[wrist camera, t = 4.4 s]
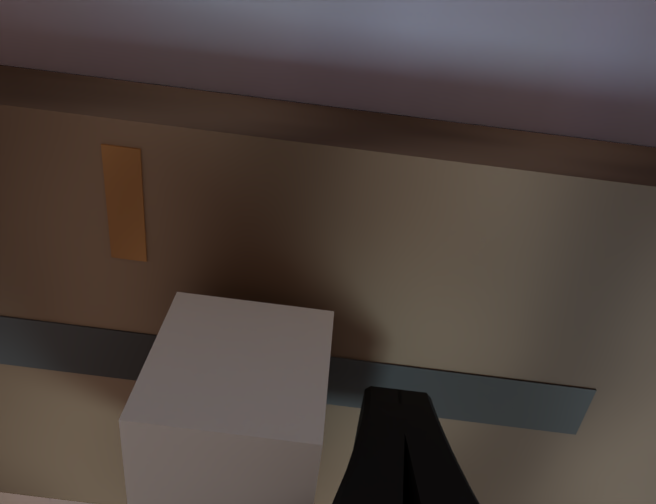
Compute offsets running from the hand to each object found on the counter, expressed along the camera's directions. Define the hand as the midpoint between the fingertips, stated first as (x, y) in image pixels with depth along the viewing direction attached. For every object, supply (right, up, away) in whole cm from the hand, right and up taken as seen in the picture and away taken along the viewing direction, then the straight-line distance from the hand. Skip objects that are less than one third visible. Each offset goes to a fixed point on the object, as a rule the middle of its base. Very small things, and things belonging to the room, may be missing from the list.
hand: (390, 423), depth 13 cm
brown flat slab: (-2, +2, +3) cm, 4 cm away
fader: (-3, +1, +1) cm, 3 cm away
